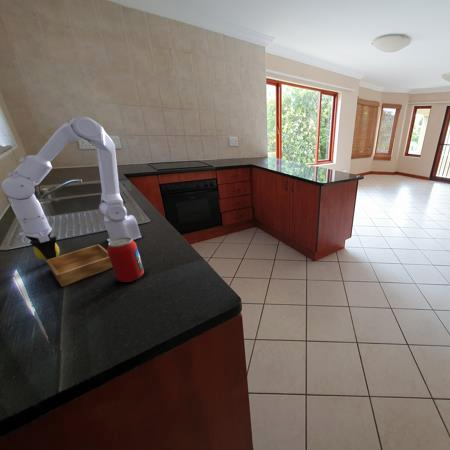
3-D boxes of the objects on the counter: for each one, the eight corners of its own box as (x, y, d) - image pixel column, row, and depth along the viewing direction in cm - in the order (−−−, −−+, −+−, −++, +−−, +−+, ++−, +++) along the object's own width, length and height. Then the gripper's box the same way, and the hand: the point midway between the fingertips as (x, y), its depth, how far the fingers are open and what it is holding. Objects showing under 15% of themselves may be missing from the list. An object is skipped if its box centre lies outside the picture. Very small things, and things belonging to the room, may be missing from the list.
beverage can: (150, 273, 73) (140, 238, 68) (129, 286, 67) (116, 248, 62) (133, 268, 75) (123, 234, 70) (112, 281, 69) (98, 244, 64)
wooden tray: (102, 253, 83) (98, 243, 82) (116, 266, 76) (113, 255, 74) (50, 270, 73) (45, 259, 72) (61, 286, 66) (56, 275, 65)
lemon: (48, 266, 75) (38, 244, 72) (35, 264, 76) (24, 242, 73) (67, 257, 80) (58, 236, 77) (54, 255, 81) (45, 234, 78)
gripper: (8, 215, 73) (27, 253, 79) (15, 226, 65) (36, 268, 71) (40, 209, 78) (56, 245, 84) (50, 219, 71) (67, 258, 76)
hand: (49, 255), depth 78 cm, fingers closed on lemon, 5 cm apart
